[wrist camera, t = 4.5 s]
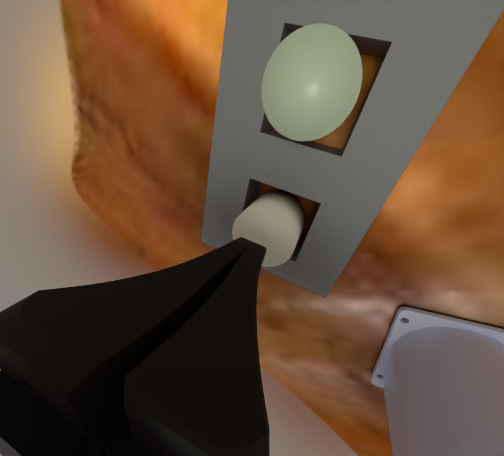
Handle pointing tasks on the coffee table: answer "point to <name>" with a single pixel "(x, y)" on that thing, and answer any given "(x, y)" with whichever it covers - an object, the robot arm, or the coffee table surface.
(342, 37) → the sage button
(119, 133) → the coffee table surface
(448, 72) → the button panel
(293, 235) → the cream button
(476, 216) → the coffee table surface
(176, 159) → the coffee table surface
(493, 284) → the coffee table surface
